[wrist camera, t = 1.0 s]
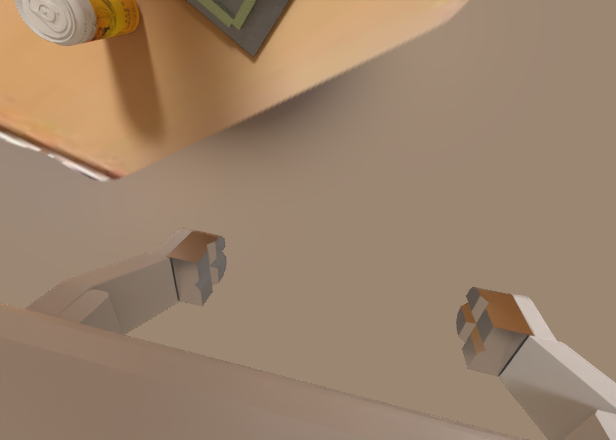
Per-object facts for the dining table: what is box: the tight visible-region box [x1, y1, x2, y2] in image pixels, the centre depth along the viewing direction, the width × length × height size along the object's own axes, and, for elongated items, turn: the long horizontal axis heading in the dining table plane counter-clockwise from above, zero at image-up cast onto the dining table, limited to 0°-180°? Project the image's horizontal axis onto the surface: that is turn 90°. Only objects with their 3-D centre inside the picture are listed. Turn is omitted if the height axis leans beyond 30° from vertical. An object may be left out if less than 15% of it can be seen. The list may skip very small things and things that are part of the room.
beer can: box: [15, 0, 139, 46], centre depth 35 cm, size 6×6×15 cm
